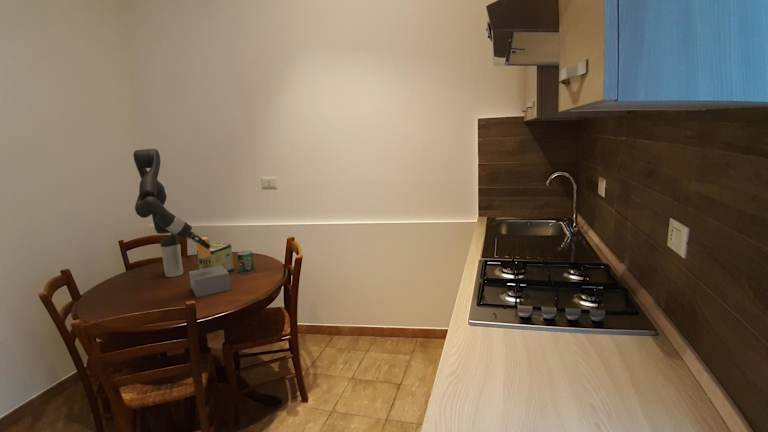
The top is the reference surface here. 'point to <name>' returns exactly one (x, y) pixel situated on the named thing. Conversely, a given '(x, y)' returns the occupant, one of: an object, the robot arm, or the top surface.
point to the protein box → (218, 257)
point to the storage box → (209, 281)
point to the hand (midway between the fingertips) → (207, 246)
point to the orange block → (203, 249)
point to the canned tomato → (245, 262)
